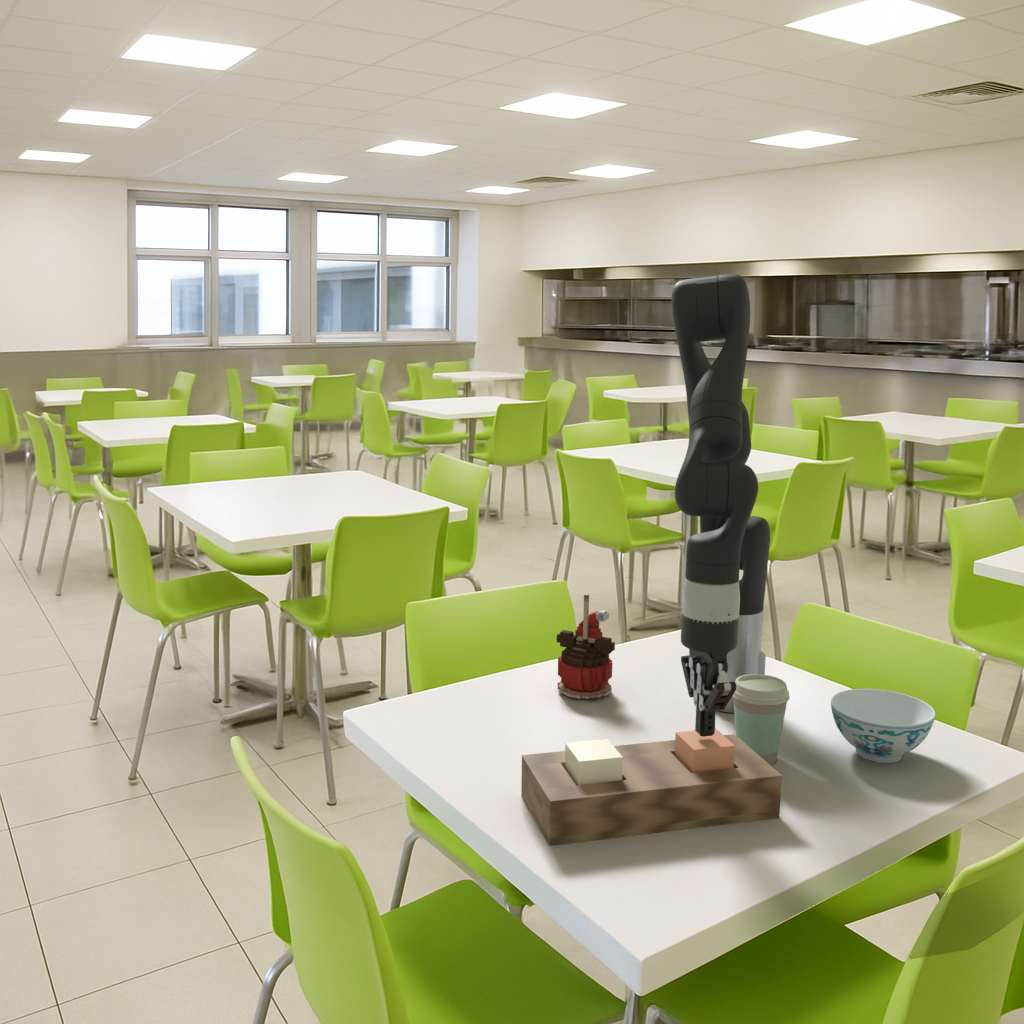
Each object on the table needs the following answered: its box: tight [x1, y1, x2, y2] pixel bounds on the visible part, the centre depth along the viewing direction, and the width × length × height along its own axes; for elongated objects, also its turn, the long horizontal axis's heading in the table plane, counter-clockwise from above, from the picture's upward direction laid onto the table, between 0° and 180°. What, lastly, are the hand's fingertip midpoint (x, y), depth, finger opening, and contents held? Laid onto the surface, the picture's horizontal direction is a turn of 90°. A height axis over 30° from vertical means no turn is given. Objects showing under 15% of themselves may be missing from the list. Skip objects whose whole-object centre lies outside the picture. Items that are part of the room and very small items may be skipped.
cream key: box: [564, 738, 623, 785], centre depth 135 cm, size 6×6×4 cm
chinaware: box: [830, 688, 936, 764], centre depth 155 cm, size 15×15×8 cm
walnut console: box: [521, 733, 783, 846], centre depth 138 cm, size 32×14×6 cm, turn 104°
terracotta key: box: [674, 727, 735, 773], centre depth 139 cm, size 6×6×4 cm
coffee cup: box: [733, 674, 790, 765], centre depth 153 cm, size 8×8×12 cm
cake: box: [556, 593, 616, 700], centre depth 179 cm, size 11×9×18 cm
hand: (704, 733), depth 138 cm, fingers closed
